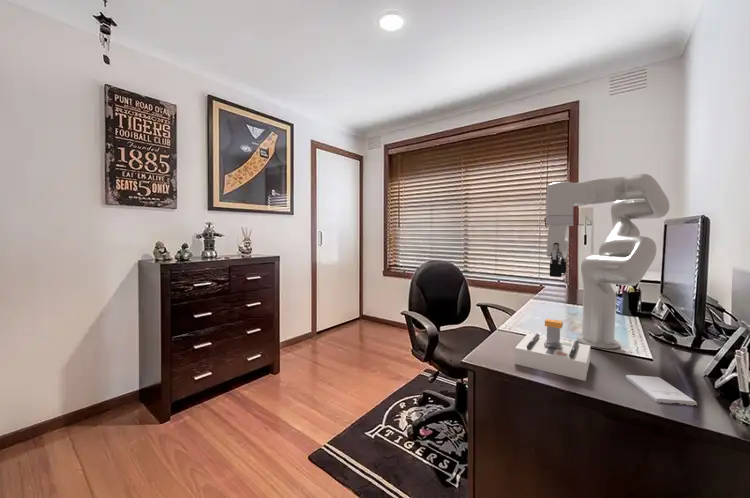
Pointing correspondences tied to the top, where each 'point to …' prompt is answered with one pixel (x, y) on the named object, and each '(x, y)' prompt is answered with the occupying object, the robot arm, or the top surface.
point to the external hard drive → (660, 390)
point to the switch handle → (553, 333)
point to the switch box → (554, 357)
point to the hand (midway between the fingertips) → (558, 274)
